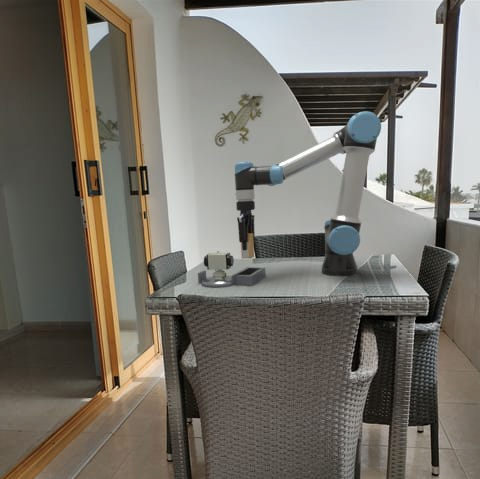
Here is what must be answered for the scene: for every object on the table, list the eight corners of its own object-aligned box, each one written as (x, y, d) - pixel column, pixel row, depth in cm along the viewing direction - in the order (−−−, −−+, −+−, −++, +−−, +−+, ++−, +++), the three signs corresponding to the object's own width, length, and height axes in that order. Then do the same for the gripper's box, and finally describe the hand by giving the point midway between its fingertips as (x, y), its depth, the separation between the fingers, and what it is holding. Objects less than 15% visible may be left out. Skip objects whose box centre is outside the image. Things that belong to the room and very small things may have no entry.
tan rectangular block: (245, 256, 151) (244, 233, 150) (254, 256, 150) (253, 233, 148) (241, 258, 148) (240, 234, 146) (250, 258, 146) (249, 234, 145)
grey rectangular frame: (265, 276, 156) (265, 267, 155) (251, 286, 140) (251, 276, 140) (247, 275, 159) (247, 267, 159) (232, 285, 144) (231, 275, 143)
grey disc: (246, 279, 152) (245, 269, 151) (231, 288, 138) (231, 277, 138) (209, 278, 159) (208, 268, 158) (192, 286, 145) (191, 275, 145)
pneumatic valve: (231, 280, 145) (230, 251, 143) (204, 280, 148) (202, 252, 146) (235, 277, 150) (233, 249, 149) (209, 277, 153) (207, 250, 152)
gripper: (244, 200, 155) (247, 253, 158) (228, 201, 139) (231, 260, 142) (260, 199, 152) (263, 253, 155) (246, 200, 137) (248, 260, 139)
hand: (248, 256), depth 149 cm, fingers closed on tan rectangular block, 4 cm apart
